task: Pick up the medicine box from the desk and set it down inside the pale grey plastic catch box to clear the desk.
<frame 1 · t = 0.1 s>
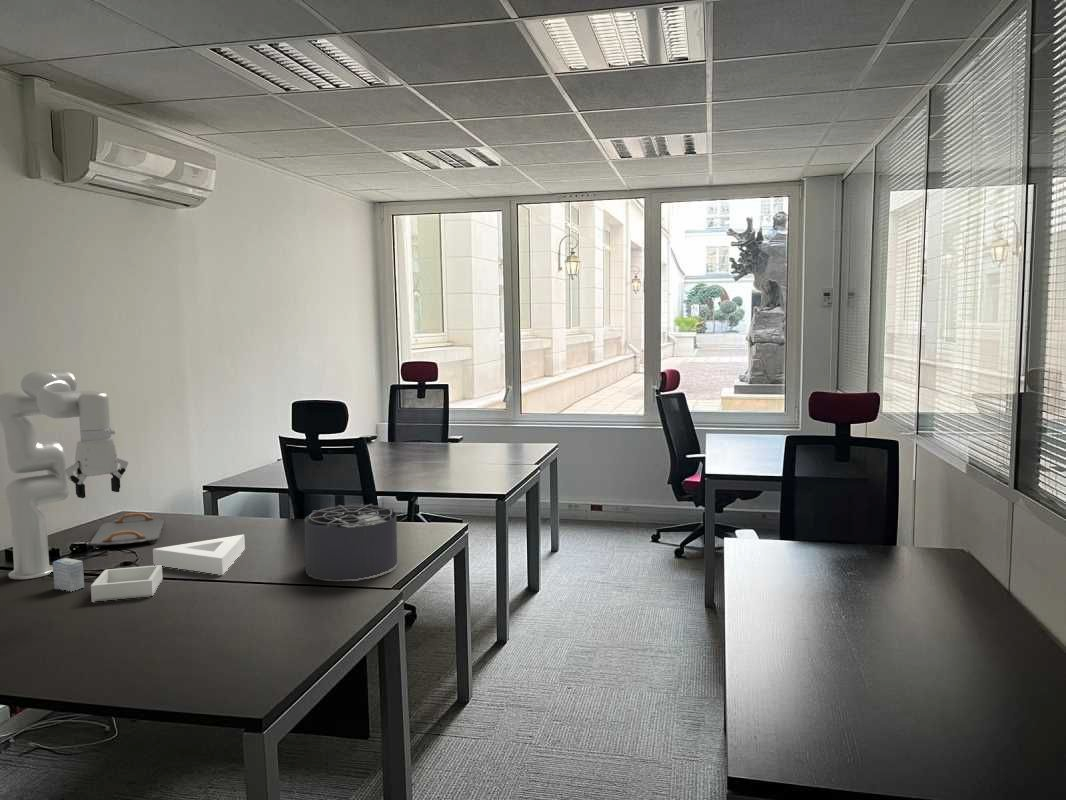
hand: (98, 494, 220), 31 cm above the table, tool pointing down, fingers open, 9 cm apart
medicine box: (69, 589, 233), on the table
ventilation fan: (352, 568, 252), on the table
serving board: (130, 537, 294), on the table
triangular ruler: (217, 562, 262), on the table
catch box: (128, 591, 230), on the table
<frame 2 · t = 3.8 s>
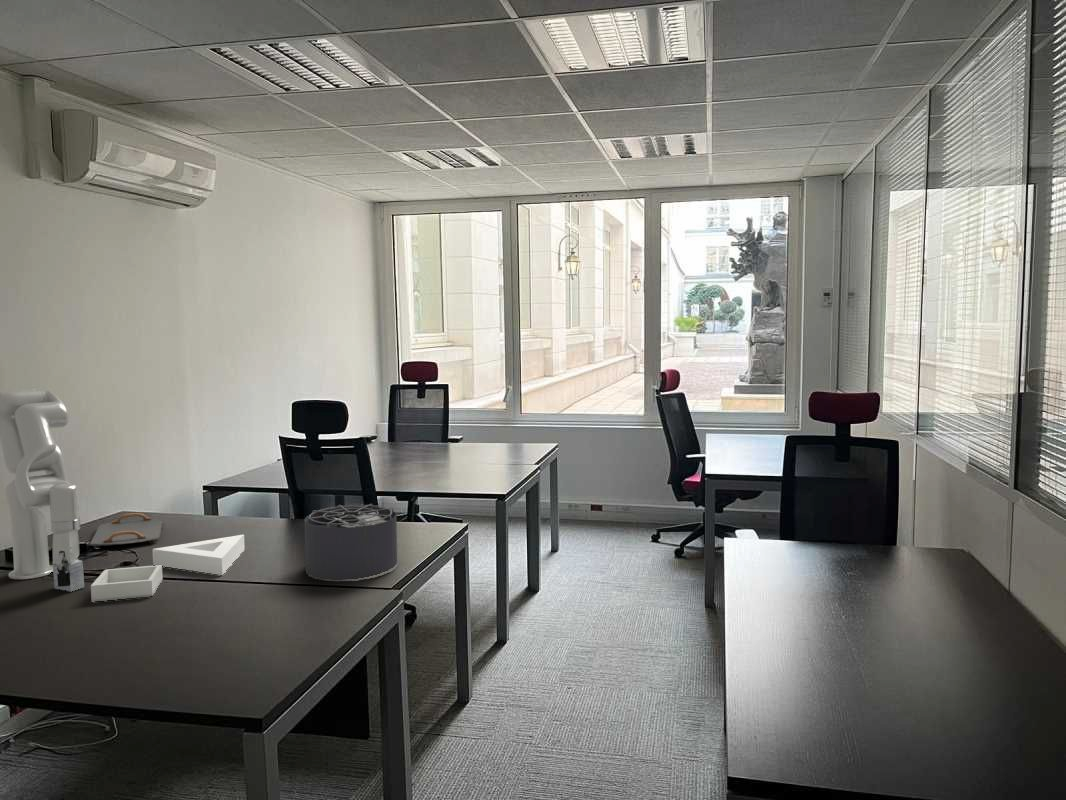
hand: (68, 581, 232), 2 cm above the table, tool pointing down, fingers closed on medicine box, 8 cm apart
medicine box: (69, 589, 233), on the table, touching gripper
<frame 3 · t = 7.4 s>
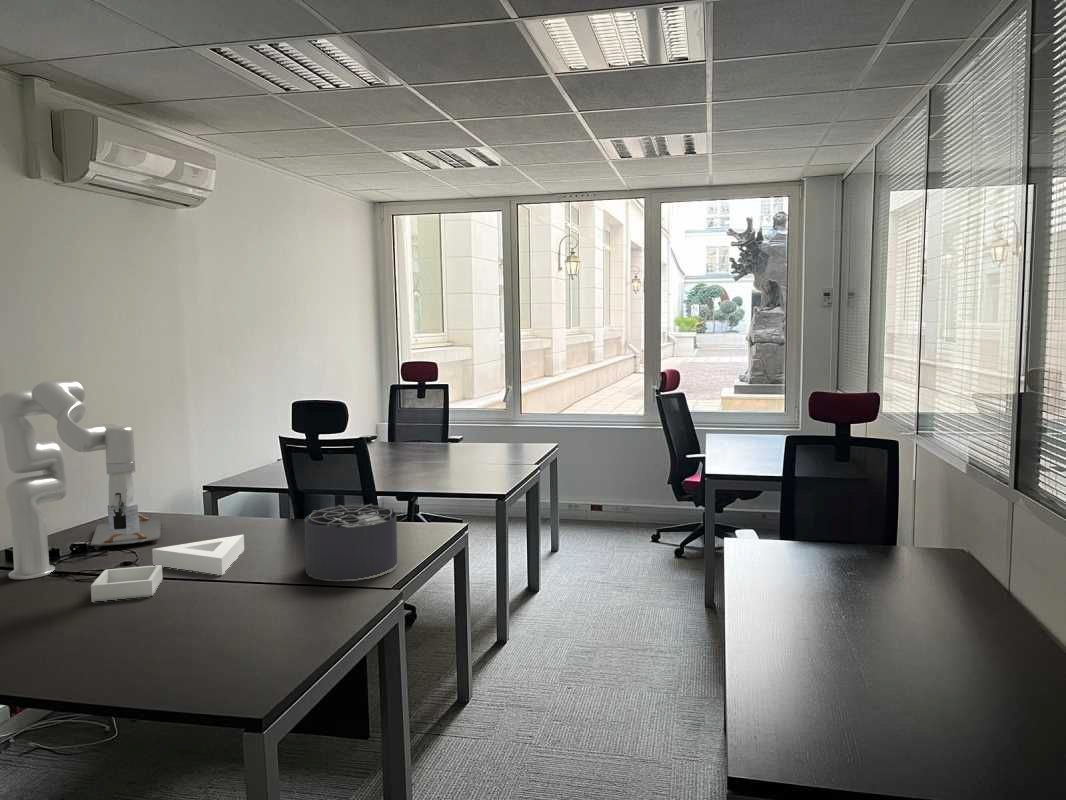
hand: (123, 525, 228), 20 cm above the table, tool pointing down, fingers closed on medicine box, 8 cm apart
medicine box: (124, 533, 229), point 18 cm above the table, touching gripper
when the fingers open (5 cm above the table, at t = 11.4 s): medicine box drops 2 cm, resting on catch box.
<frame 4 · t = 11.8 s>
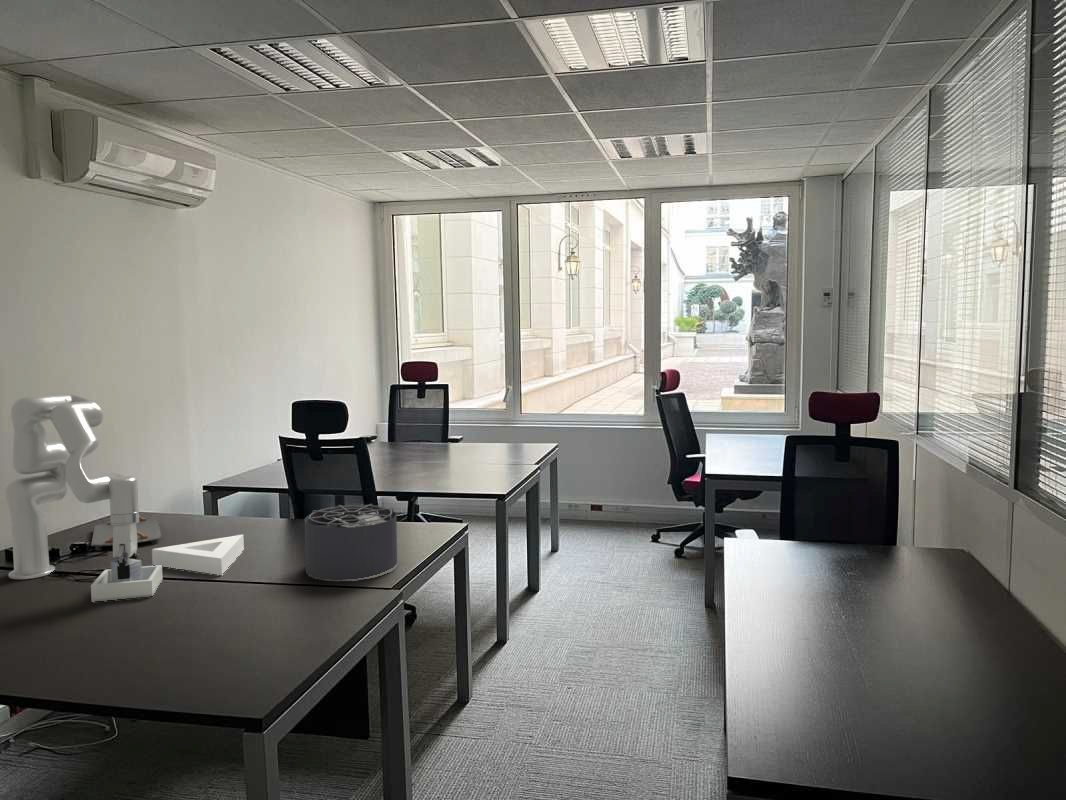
hand: (127, 573, 230), 5 cm above the table, tool pointing down, fingers open, 9 cm apart
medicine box: (127, 589, 230), point 1 cm above the table, touching catch box
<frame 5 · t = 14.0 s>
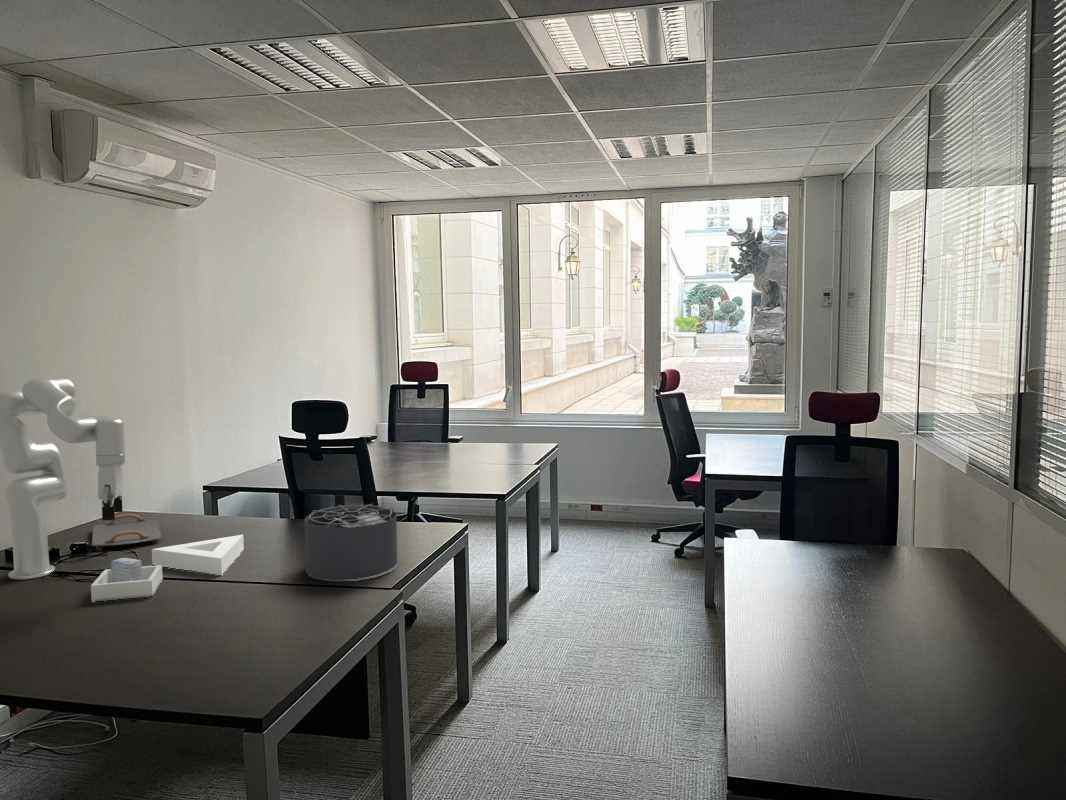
hand: (112, 515, 229), 23 cm above the table, tool pointing down, fingers open, 9 cm apart
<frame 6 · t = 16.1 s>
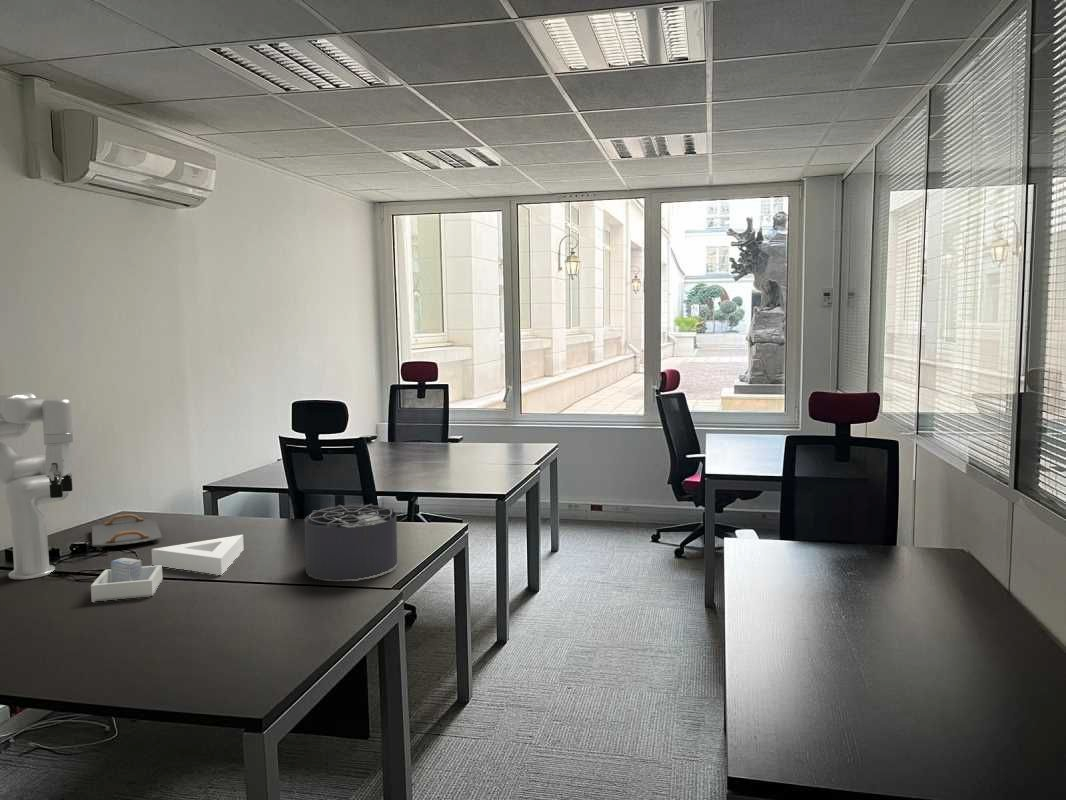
hand: (61, 494, 234), 28 cm above the table, tool pointing down, fingers open, 9 cm apart
at the end: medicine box inside the target area on the catch box (0.2 cm from its centre), point 0.6 cm above the catch box's base; the gripper is holding nothing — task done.
